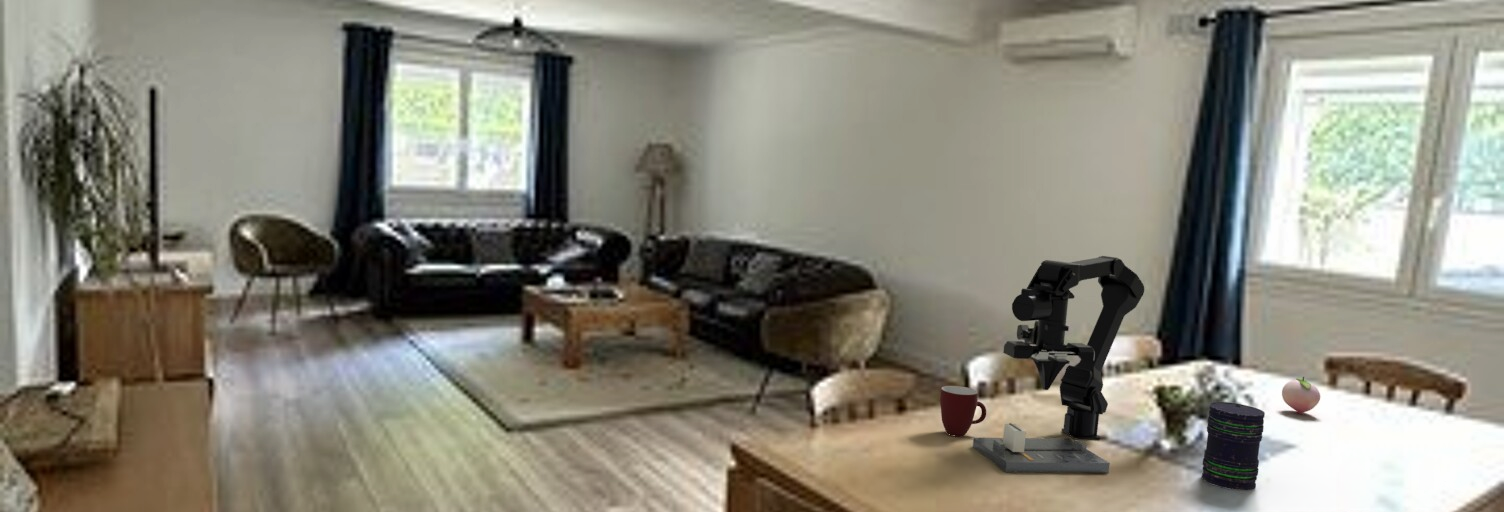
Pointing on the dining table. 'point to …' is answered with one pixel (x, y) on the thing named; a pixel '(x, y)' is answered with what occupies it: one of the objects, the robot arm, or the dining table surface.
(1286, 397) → the decorative fruit
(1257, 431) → the storage jar
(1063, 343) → the robot arm
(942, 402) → the mug
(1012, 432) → the fader
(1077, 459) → the console
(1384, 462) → the dining table surface
